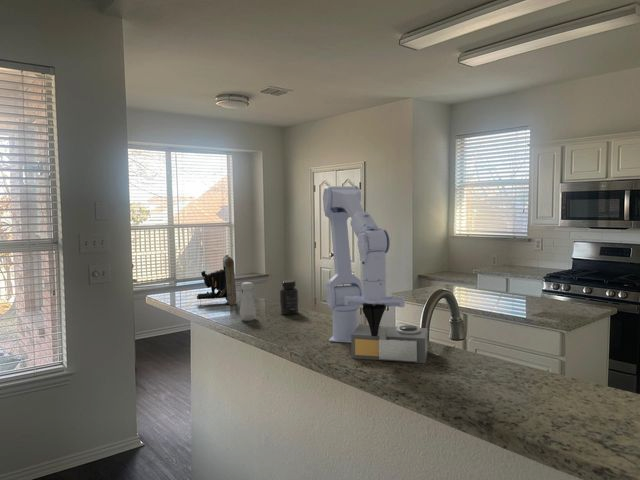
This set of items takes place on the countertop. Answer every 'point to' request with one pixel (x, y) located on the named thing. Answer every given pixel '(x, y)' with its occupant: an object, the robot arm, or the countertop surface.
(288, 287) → the supplement bottle
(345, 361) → the countertop surface
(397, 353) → the side door
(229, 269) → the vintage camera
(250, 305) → the salt shaker
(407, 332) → the camera housing
